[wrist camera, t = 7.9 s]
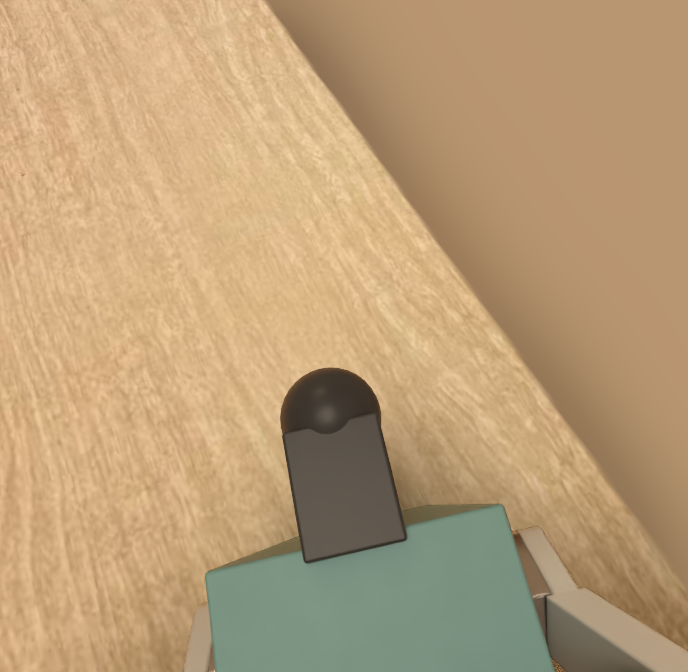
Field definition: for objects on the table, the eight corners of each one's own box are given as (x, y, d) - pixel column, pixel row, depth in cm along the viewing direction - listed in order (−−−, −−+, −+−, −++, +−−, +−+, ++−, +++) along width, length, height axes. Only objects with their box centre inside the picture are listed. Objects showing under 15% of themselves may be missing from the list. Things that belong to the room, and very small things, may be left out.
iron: (472, 644, 16) (756, 1049, 4) (322, 679, 16) (162, 1197, 4) (415, 426, 19) (485, 280, 7) (284, 456, 19) (115, 364, 7)
